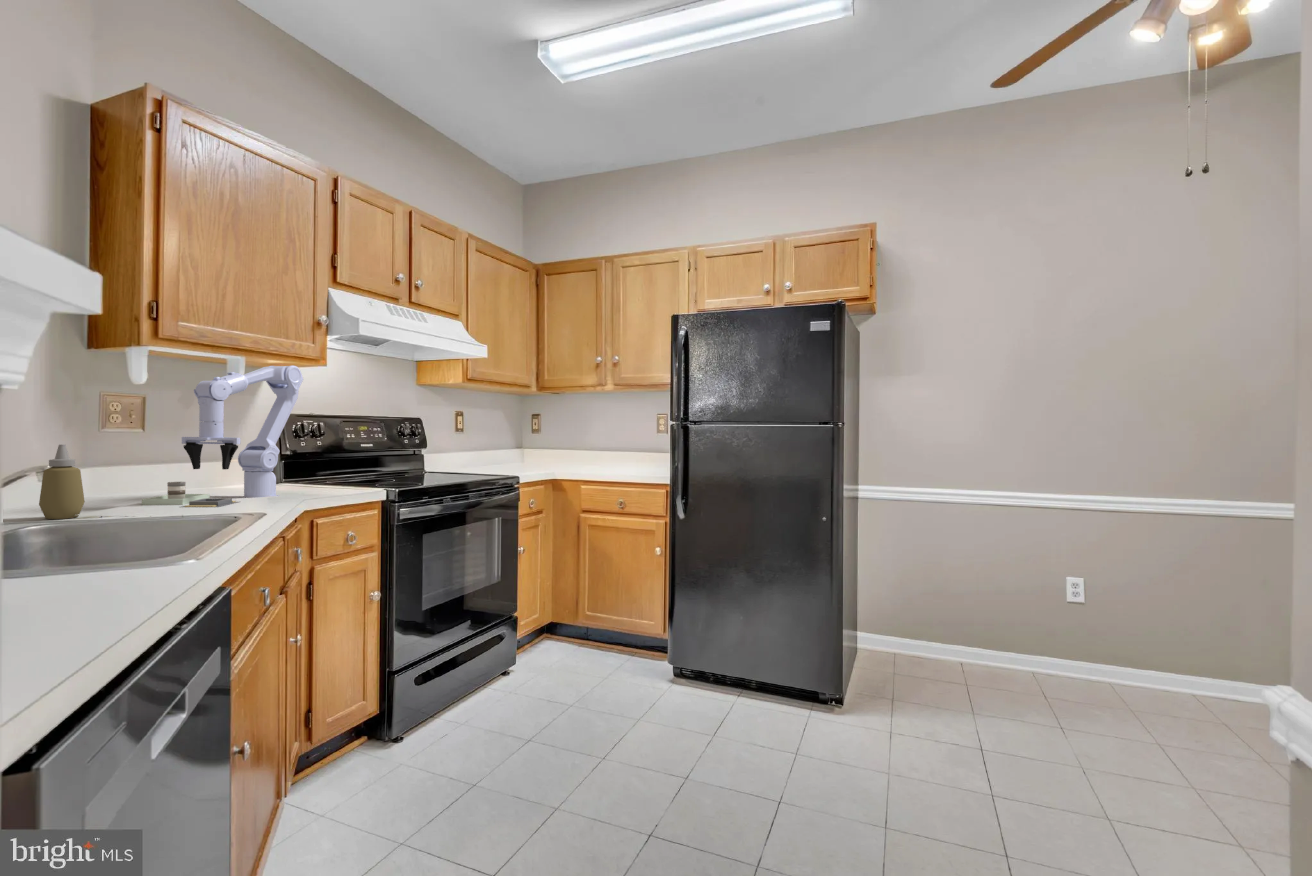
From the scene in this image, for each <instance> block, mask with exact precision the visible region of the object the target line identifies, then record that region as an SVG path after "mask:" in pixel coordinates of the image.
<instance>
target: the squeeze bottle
mask: <svg viewBox="0 0 1312 876" xmlns="http://www.w3.org/2000/svg"><path fill="white" fill-rule="evenodd" d="M75 466H76V459H74V458H70V455H69V452H68V448H67V446H66V444H58V446H57V449H56V453H55V457H54V459H49V460H48V468H46V469H44V470H43V472H42V481H41V486H40V494H39V501H38V502H39V503H38V506H39V508H40V510H41V512H42V514H43V517H44V518H45V520H65V519H66V520H68V519H73V518H78V517H79V515H80V514H81V512H82V509H83V507H84V504H85V502H86V501H85V495H84V494H85V493H84V488H83V479H82V473H81V469H79V468H78V467H75Z"/></svg>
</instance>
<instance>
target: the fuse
mask: <svg viewBox="0 0 1312 876" xmlns="http://www.w3.org/2000/svg"><path fill="white" fill-rule="evenodd" d="M186 483H187V482H186V481H169V482H167V483H166V484H167V495H168V499H182V498H185V494H186Z"/></svg>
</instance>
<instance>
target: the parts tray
mask: <svg viewBox="0 0 1312 876" xmlns="http://www.w3.org/2000/svg"><path fill="white" fill-rule="evenodd" d="M210 495H211V494H210V493H185V498H182V499H168V494H164V495H163V494H162V495H158V496H152V497H147V498H142V499H141V506H168V505H169V506H174V505H175V506H179V505H180V506H181V505H182V506H185V505H189V502H190V501H195V500H199V499H204V498H211V497H210Z"/></svg>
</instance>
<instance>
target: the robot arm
mask: <svg viewBox="0 0 1312 876" xmlns="http://www.w3.org/2000/svg"><path fill="white" fill-rule="evenodd" d="M260 382H265V383H266V384H267V385H268V387H269V388H270V390H271V391H272V393H273V394H275V395H276V398H275V401H274V403H273V404H272V406H271V409H270V411H269V413H268V414H267V416H266V419H265V420H264V422H263V424H262V427H261V428H260V430H259V433H258V434H257V436H256V438H255V439H254V440H252V441H250V442H248V443H247V444H246V446H245V447H244V449H243V450H241V451H239V454H238V455H237V463H238V465H239V466H240V467H241V468H242V469H241V470H242V471H243V497H244V498H251V499H252V498H267V497H279V496H280V495H277V475H276V474H275V473H274V472H273V471H274V469H275V468H276V466H277V464H278V460H279V454H280V449H279V447H278V446H277V442H278V441H279V438H280V437H281V434H282V432H283V430H284V428H285V426H286V423H287V422H288V419H289V417H290V415H291V413H292V411H293V409H294V407H295V405H296V404H297V401H298V398H299V392H300V391H299V390H300V388H301V385H302V383H303V382H304V377H303V373H302V372H301V370H300V368H299V366H296V365H285V366H284V365H269V366H268V365H267V366H263V367H261V368H258V369H256V370H253V371H250V372H247V373H243V374H242V373H239V372H235V371H229V372H227V375H224V376H221V377H220V376H214V377H213V379H212V380H201V381H199V383H198V384H197V385H196V386H195V388H194V389H193V393H194V396H195V397H196V399H197V404H198V407H199V408H198V409H199V414H198V415H199V416H198V418H199V420H198V421H199V424H198V426H199V427H198V429H199V430H198V436H182V437H181V444H182V445H183V449H184V450H185V451H186V453H187V455H188V457H189V459H190V462H191V466H192V470H200V469H201V456H202V450H203V446H204V445H205V444H206V445H207V444H208V445H219V448H220V451H221V468H222V470H230V465H231V463H232V462H231V461H232V459H233V457H234V455H235V453H236V452H237V450H238V449H239V445H241V439H242V438H241V437H224V431H225V430H224V428H225V427H224V423H225V422H224V417H225V416H224V413H225V406H224V405H225V400H227V399H228V398H229V396H232V395H234V394H238V393H241V392H244V391H246V390H247V389H248V386H249V385H254V384H257V383H260Z"/></svg>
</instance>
